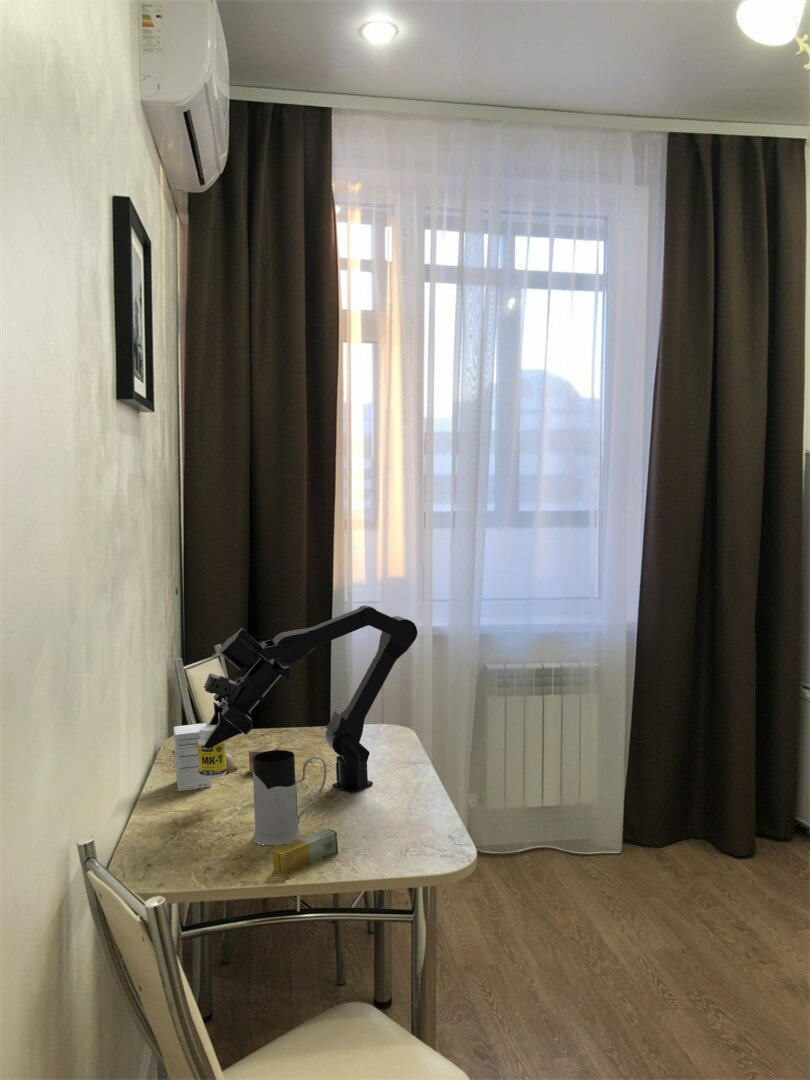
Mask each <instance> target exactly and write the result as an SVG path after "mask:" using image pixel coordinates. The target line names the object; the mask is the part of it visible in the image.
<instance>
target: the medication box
mask: <svg viewBox="0 0 810 1080" xmlns="http://www.w3.org/2000/svg"><path fill="white" fill-rule="evenodd" d="M336 855H339V848H338V832H337V831H336V830H334V829H330V828H327V829H324V830H321V831H319V832H316V833H313V834H311V835H309V836H308V835H307V836H306V837H303V838H300V839H297V840H296V841H294V842H291V843H289V844H285V845H282V846H279V847H278V848H276V849H272V858H273V859H272V861H273V872H274V871H275V872H277V873H278V874H277V873H276V874H277V875H279V874H281V875H284V876H286V875H289V874H291V873H294V872H296V871H298V870H301V869H303V868H306V867H309V866H311V865H314V864H317V863H318V862H321V861H324V860H326V859H328V858H332V857H334V856H336ZM293 871H294V872H293ZM275 872H274V873H275ZM290 872H291V873H290ZM288 873H289V874H288ZM285 874H286V875H285ZM281 875H280V876H281Z"/></svg>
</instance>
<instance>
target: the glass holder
mask: <svg viewBox="0 0 810 1080" xmlns="http://www.w3.org/2000/svg"><path fill="white" fill-rule="evenodd" d="M313 760H320V761H321V762H322V763H323V768H324V770H323V779H322V783H321V786H320V788H319V791H318V792H317V794H316V795H315V796H314V798H313V799H312V800H311V801H310V803H308V804H307V805H306V807H305V808H303V809H302V810H301V812H300V813H299V811H298V788H297V784H300V783H302V782H304V781H305V780H306V779H305V778H306V769H307V766H308V764H309V762H311V761H313ZM253 765H254V771H253V772H252V781H253V782H252V783H253V786H252V787H253V804H254V806H253V808H254V810H253V811H254V827H255V831H254V835H253V838H254V840H255V841H256V842H258V843H260V844H264V845H279V846H283V845H282V844H285V845H288V844H287V843H289V844H290V842H291V843H293V842H292V841H294V840H296V839H297V838H298V837H300V838H301V836H302V831H301V829H299V828H300V827H299V824H300V820H301V817H302V816H303V815H304V814H305V813H306V812H307V811H308V809H309V808H310V807H311V806H313V804H314V803H315V802H316V801H317V800H318V799H319V797H320V796H321V794H322V792H323V790H324V787H325V784H326V781H327V769H328V768H327V763H326V762H325V760H324V759H323V758H321V757H319V756H311V757H309V758H308V759H306V761H305V762H304V764H303V768H302V776H301V777H302V778H301V779H298V780H296V771H295V770H296V768H295V767H296V766H295V765H296V763H295V753H294V752H292V751H290V750H282V749H279V750H272V751H266V752H262V753H259V754H257V755H255V756H254V757H253ZM298 813H299V814H298ZM300 835H301V836H300ZM253 838H252V839H253ZM254 840H253V841H254ZM297 840H298V839H297ZM297 840H296V841H297ZM256 842H255V843H256ZM294 842H295V841H294ZM260 844H259V845H260ZM264 845H263V846H264Z"/></svg>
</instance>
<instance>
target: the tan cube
mask: <svg viewBox="0 0 810 1080" xmlns="http://www.w3.org/2000/svg"><path fill="white" fill-rule="evenodd" d="M279 748H280V747H279V746H277V745H269V744H268V745H267V744H266V745H265V744H259V745H257V746H256V747H254V748H252V749H250V750H248V763H249V764H248V765H249V773H253V771H254V765H253V757H254V756H255V755H257V754H259V753H262V752H266V751H272V750H280V749H279Z"/></svg>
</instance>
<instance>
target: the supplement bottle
mask: <svg viewBox="0 0 810 1080" xmlns="http://www.w3.org/2000/svg"><path fill="white" fill-rule="evenodd" d="M216 726H217V725H209V724H208V725H207V726H204V727H201V728H200V737H201V738H200V739H199V740H198V759H199V775H200V776H201V777H202V778H211V779H216V778H217V779H218V778H221V777H223V776H225V775H226V774H227V773H226V772H227V768H226V753H227V749H226V746H227V742H226V740H225V741H223V742H221V743H219V744H217V745H215V746H213V747H211V748H209V749H207V748H206V747H205V746H204V745H205V743H206V741H207V740H208V738H209V737H210V735H211V733H212V732H213V730H214V729H215V727H216Z"/></svg>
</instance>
